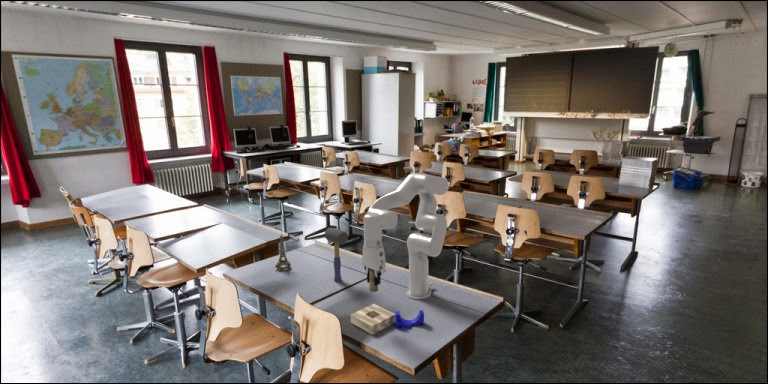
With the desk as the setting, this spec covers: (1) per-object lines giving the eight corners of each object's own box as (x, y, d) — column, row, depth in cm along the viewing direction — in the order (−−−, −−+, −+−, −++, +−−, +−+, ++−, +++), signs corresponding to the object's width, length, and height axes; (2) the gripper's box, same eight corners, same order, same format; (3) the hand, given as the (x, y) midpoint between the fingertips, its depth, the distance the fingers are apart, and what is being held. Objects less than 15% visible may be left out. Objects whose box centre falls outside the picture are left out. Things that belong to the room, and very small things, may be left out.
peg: (373, 287, 182) (373, 265, 180) (379, 289, 180) (379, 268, 178) (367, 290, 180) (367, 268, 178) (373, 292, 177) (373, 270, 175)
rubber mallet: (350, 283, 224) (349, 229, 218) (339, 287, 219) (338, 233, 213) (335, 277, 233) (334, 225, 227) (325, 281, 228) (323, 228, 221)
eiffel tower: (273, 267, 248) (271, 227, 243) (292, 265, 251) (289, 225, 246) (274, 274, 238) (272, 232, 233) (293, 272, 241) (291, 230, 236)
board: (373, 311, 193) (373, 303, 192) (395, 322, 184) (395, 314, 183) (350, 322, 184) (350, 314, 183) (372, 334, 174) (372, 326, 173)
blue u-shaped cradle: (396, 329, 178) (396, 316, 177) (395, 323, 183) (395, 311, 182) (424, 327, 179) (424, 315, 178) (422, 322, 184) (422, 310, 182)
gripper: (393, 244, 172) (393, 286, 176) (365, 236, 184) (366, 275, 188) (380, 249, 167) (381, 291, 171) (353, 240, 179) (354, 280, 182)
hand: (373, 282), depth 179 cm, fingers closed on peg, 3 cm apart
